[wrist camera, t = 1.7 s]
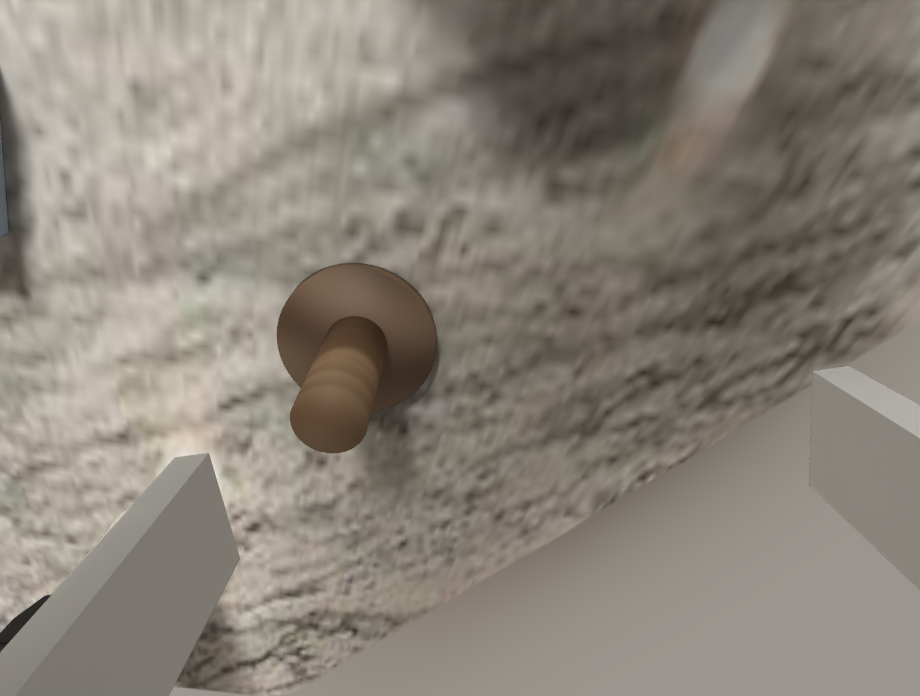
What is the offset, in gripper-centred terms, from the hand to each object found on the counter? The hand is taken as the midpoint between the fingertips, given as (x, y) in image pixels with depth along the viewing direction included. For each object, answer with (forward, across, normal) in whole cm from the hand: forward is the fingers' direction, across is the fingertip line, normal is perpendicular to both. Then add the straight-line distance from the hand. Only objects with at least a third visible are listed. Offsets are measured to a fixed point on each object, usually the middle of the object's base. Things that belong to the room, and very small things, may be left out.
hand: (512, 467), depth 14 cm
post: (+23, -7, -3) cm, 24 cm away
